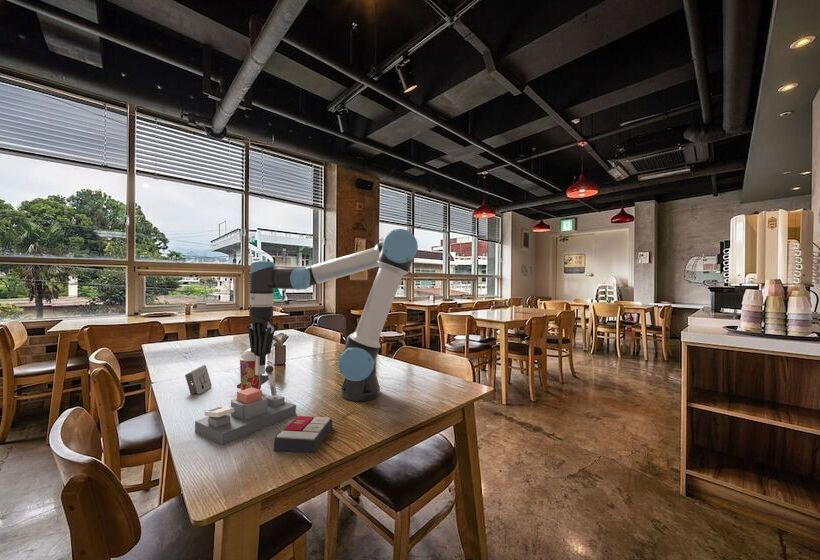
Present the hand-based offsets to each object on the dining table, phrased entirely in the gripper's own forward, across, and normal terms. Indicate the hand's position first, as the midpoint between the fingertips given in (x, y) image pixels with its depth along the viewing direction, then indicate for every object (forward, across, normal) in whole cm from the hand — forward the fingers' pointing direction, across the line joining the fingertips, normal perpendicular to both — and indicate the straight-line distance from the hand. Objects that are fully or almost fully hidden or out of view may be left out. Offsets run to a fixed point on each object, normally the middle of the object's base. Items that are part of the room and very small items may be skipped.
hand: (260, 374), depth 112 cm
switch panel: (+11, +8, -9) cm, 17 cm away
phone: (+12, -25, +15) cm, 32 cm away
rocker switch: (+6, +8, -18) cm, 21 cm away
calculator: (+12, +30, -6) cm, 33 cm away
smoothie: (+12, -15, +6) cm, 20 cm away
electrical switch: (+12, -33, -4) cm, 35 cm away
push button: (+6, +8, -9) cm, 13 cm away
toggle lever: (+6, +8, 0) cm, 10 cm away
